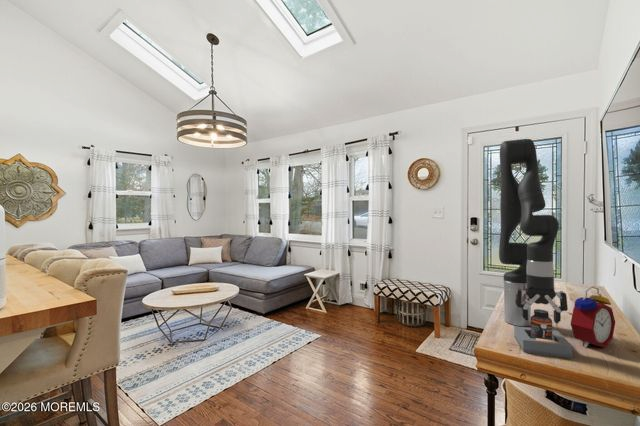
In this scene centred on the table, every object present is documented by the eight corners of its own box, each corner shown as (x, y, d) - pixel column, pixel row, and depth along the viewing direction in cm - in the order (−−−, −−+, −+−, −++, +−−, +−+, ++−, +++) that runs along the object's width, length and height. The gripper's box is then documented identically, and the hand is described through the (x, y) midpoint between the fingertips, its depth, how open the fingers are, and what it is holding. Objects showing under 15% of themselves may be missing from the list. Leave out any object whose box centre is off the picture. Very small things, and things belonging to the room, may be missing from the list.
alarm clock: (593, 352, 97) (591, 290, 97) (562, 342, 105) (561, 285, 105) (616, 344, 103) (615, 285, 103) (586, 335, 111) (585, 281, 111)
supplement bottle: (550, 349, 98) (549, 314, 98) (528, 343, 102) (528, 310, 102) (554, 344, 102) (553, 310, 102) (533, 338, 106) (533, 306, 106)
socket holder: (514, 337, 110) (514, 325, 110) (557, 342, 105) (557, 329, 106) (523, 352, 98) (523, 338, 98) (572, 358, 93) (572, 344, 93)
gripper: (561, 272, 103) (562, 319, 103) (512, 270, 108) (513, 315, 108) (570, 277, 96) (571, 327, 96) (518, 274, 101) (519, 322, 101)
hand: (540, 321), depth 102 cm, fingers open, 8 cm apart
